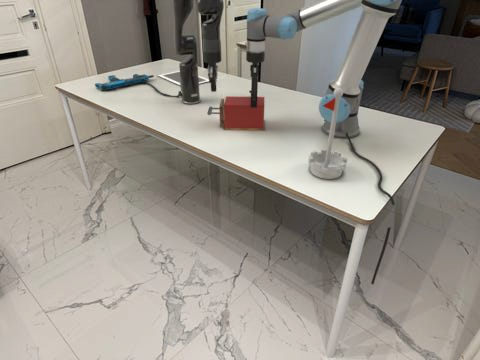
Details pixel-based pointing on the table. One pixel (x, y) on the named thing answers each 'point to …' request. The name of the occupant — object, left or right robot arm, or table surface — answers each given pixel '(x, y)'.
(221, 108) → the drawer
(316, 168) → the flag stand
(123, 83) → the submachine gun
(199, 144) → the table surface
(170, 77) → the tablet
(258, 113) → the cabinet
